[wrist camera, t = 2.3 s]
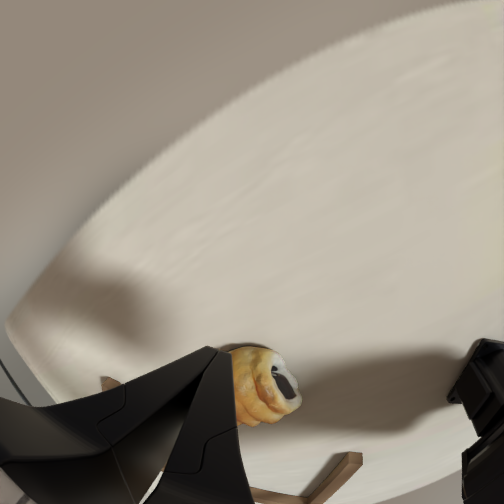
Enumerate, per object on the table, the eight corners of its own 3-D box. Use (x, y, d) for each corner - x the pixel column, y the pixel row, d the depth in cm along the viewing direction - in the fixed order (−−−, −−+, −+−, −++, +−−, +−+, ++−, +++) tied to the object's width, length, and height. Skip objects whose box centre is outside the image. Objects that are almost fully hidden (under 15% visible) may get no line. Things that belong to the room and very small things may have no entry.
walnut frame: (362, 453, 22) (362, 464, 20) (314, 502, 26) (313, 511, 25) (108, 376, 26) (101, 384, 24) (122, 443, 30) (117, 450, 29)
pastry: (217, 416, 24) (203, 445, 20) (175, 364, 23) (154, 390, 19) (310, 393, 21) (306, 427, 17) (270, 329, 20) (259, 361, 16)
